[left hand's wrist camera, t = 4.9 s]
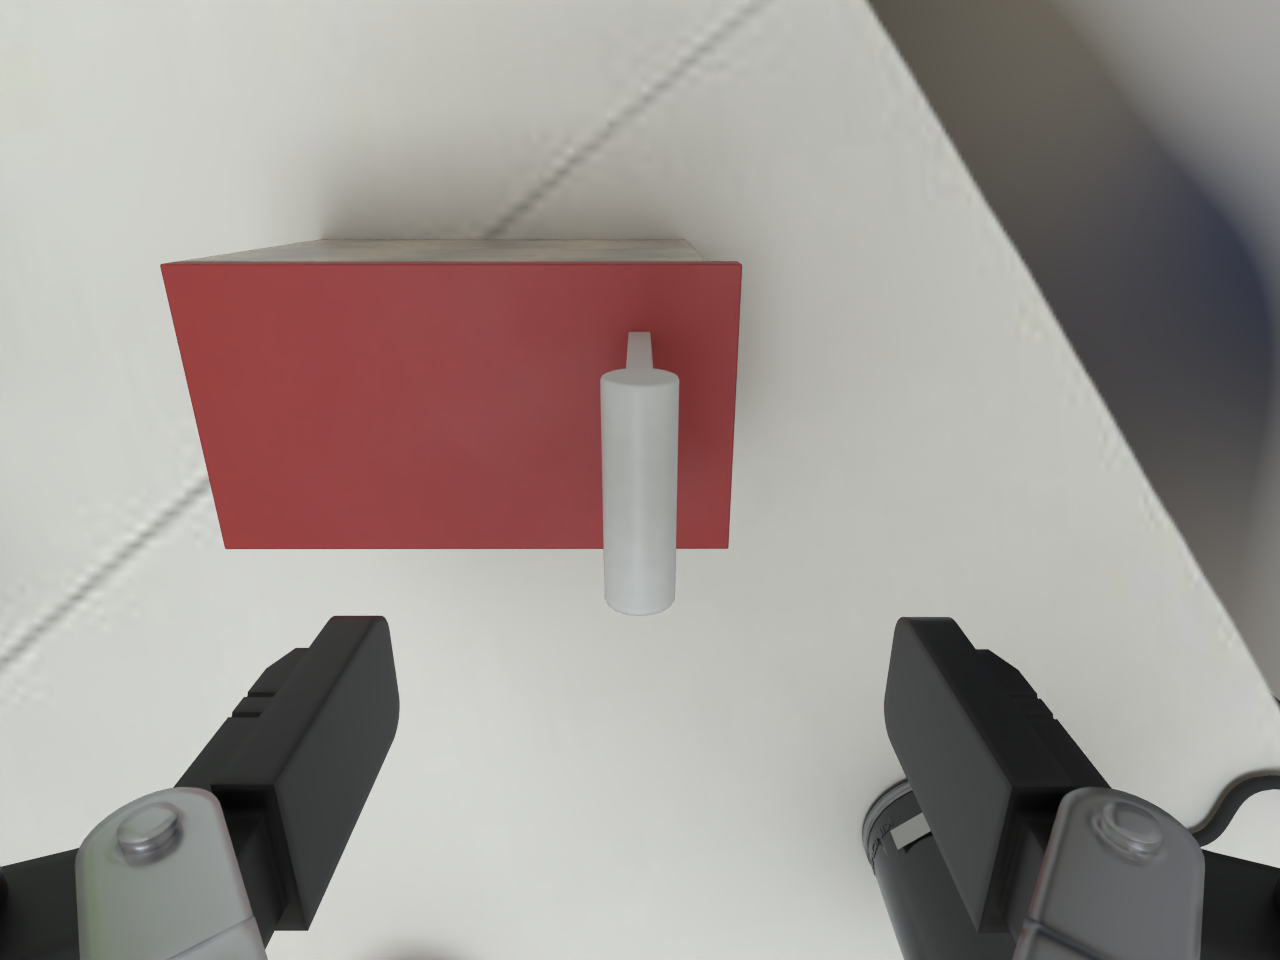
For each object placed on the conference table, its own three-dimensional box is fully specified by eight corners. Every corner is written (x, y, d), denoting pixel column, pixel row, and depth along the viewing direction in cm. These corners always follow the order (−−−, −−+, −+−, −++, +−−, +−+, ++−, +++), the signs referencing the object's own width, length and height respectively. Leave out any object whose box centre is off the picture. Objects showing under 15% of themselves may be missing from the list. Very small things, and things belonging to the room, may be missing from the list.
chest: (686, 239, 34) (707, 260, 24) (682, 441, 38) (698, 537, 27) (318, 239, 34) (177, 261, 24) (349, 441, 38) (238, 537, 27)
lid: (738, 261, 24) (789, 297, 16) (725, 537, 27) (761, 680, 19) (176, 261, 24) (-58, 297, 16) (238, 538, 27) (72, 681, 19)
